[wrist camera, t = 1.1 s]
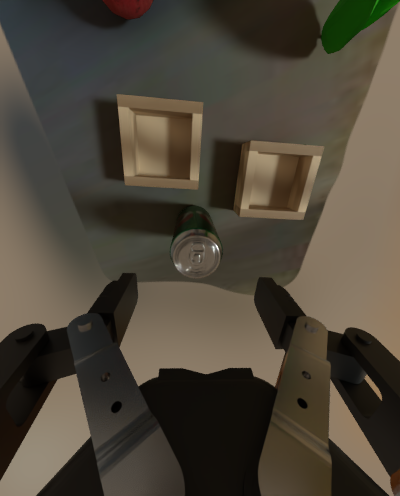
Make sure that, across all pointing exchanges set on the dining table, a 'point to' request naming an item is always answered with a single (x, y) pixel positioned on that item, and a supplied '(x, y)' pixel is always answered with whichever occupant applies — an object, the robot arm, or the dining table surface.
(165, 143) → the oak endcap
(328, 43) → the flower
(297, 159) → the oak endcap
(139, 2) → the onion
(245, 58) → the dining table surface
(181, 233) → the soda can
